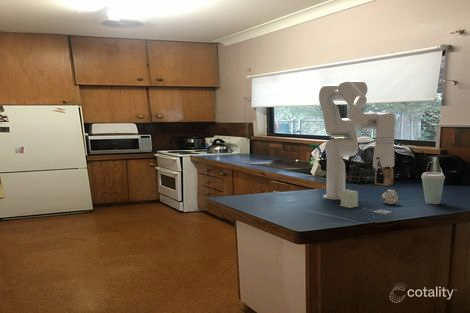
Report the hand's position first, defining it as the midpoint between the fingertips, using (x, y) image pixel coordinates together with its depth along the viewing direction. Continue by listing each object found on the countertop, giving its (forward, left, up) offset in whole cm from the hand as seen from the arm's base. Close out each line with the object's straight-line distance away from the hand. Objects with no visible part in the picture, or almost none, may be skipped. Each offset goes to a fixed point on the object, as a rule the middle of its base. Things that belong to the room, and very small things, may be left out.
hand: (383, 182), depth 174 cm
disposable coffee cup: (-39, +3, -14) cm, 42 cm away
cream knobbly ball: (-19, -8, -15) cm, 25 cm away
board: (0, -9, -14) cm, 17 cm away
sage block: (0, -18, -14) cm, 22 cm away
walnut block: (0, 0, -1) cm, 1 cm away
